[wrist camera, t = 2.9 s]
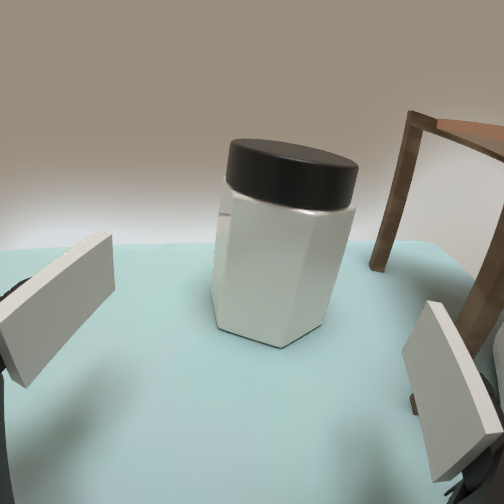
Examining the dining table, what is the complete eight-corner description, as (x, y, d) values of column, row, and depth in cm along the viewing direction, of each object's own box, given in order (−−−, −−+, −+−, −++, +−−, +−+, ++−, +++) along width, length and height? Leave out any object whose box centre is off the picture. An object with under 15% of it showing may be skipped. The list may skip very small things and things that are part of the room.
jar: (326, 298, 27) (363, 159, 22) (313, 360, 20) (369, 176, 14) (229, 270, 29) (248, 135, 24) (187, 320, 22) (201, 141, 16)
